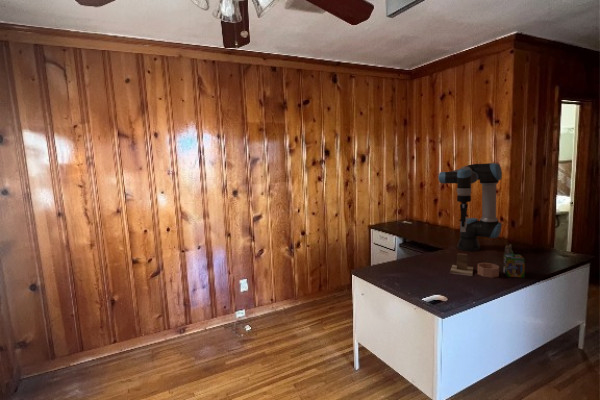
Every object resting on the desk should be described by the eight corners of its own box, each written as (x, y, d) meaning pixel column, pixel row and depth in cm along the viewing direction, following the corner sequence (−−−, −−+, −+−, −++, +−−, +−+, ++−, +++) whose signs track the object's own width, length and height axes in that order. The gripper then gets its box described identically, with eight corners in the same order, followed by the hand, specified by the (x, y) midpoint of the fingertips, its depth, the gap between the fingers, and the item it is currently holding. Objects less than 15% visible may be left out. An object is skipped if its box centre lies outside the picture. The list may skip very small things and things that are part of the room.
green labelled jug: (524, 278, 182) (525, 253, 180) (506, 277, 186) (506, 252, 184) (520, 272, 191) (521, 248, 189) (502, 271, 194) (503, 248, 192)
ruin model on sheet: (509, 259, 216) (510, 245, 215) (504, 258, 218) (504, 244, 216) (512, 254, 224) (512, 241, 223) (507, 254, 226) (507, 241, 225)
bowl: (477, 270, 198) (477, 262, 197) (498, 272, 193) (498, 264, 192) (477, 276, 189) (477, 267, 188) (499, 279, 183) (499, 270, 182)
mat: (452, 267, 206) (452, 266, 206) (473, 269, 200) (473, 268, 200) (450, 273, 195) (450, 273, 195) (472, 276, 189) (472, 275, 189)
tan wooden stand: (452, 266, 206) (452, 250, 205) (473, 268, 200) (473, 252, 198) (450, 272, 196) (450, 256, 194) (472, 275, 190) (472, 258, 188)
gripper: (458, 192, 204) (458, 224, 207) (455, 197, 183) (455, 233, 185) (471, 192, 200) (471, 225, 203) (470, 197, 179) (469, 234, 181)
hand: (463, 229), depth 194 cm, fingers open, 13 cm apart
